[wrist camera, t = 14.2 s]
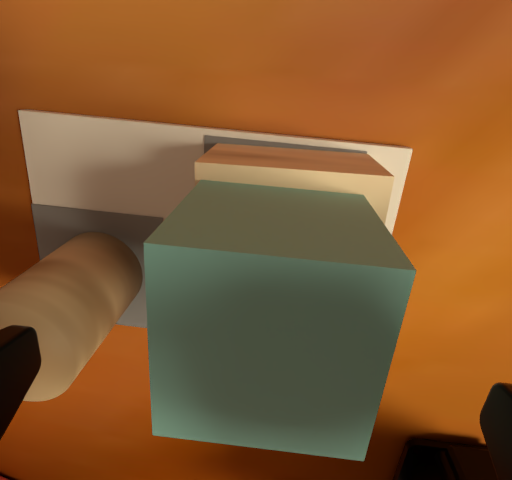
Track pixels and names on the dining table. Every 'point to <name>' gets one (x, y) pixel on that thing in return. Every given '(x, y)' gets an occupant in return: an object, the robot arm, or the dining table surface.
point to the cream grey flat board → (140, 176)
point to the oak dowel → (71, 305)
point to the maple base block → (299, 171)
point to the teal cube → (272, 318)
